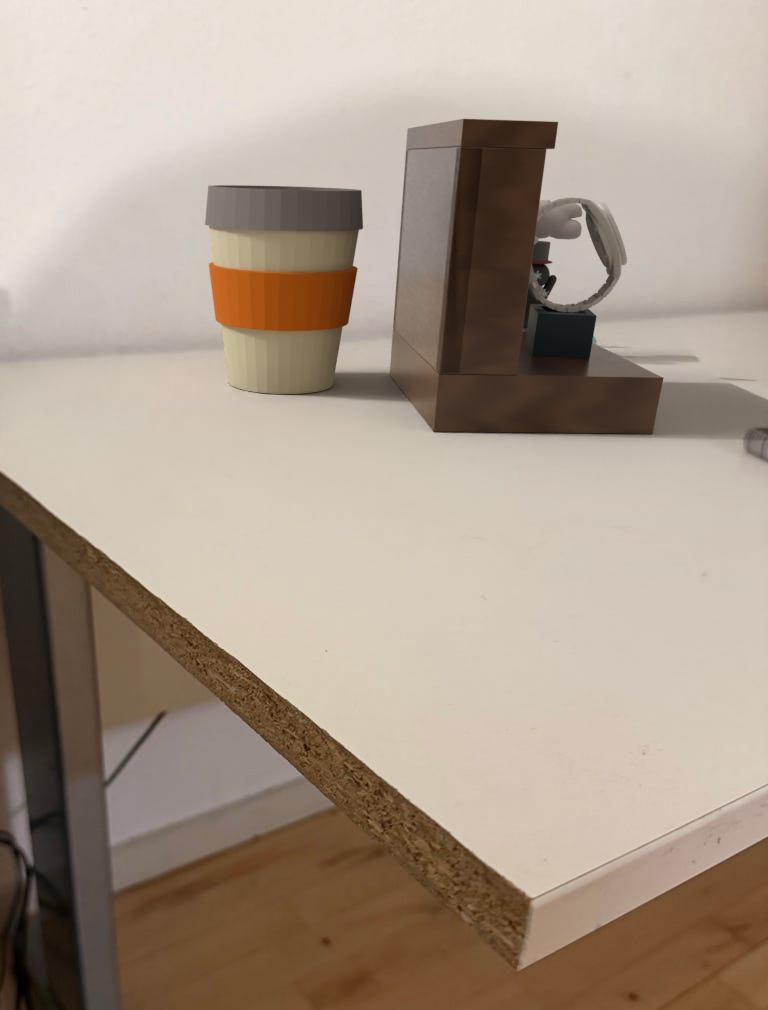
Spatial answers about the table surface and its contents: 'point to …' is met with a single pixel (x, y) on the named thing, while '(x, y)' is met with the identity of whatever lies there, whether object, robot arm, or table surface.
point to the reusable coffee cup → (282, 281)
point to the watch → (574, 324)
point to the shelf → (491, 294)
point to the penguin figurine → (554, 226)
